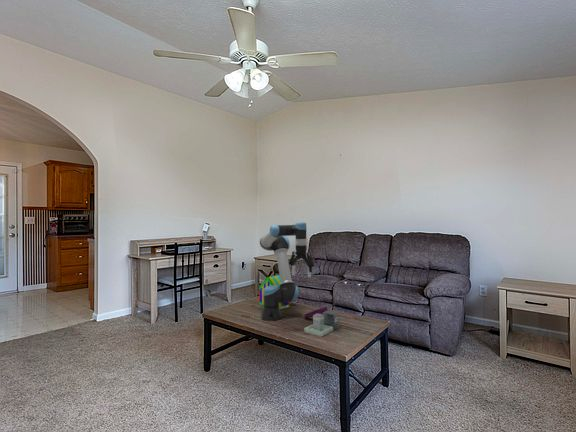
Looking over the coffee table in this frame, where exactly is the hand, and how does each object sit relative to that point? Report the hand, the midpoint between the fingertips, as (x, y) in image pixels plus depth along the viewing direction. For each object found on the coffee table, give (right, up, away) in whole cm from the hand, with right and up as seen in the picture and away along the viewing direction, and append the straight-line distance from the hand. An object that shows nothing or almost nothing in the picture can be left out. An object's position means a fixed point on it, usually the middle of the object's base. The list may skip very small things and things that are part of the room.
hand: (301, 276), depth 224 cm
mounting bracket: (+11, -35, +17) cm, 40 cm away
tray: (+11, -35, -9) cm, 37 cm away
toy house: (-21, -35, +54) cm, 68 cm away
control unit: (+20, -35, -2) cm, 40 cm away
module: (+11, -34, -9) cm, 37 cm away
